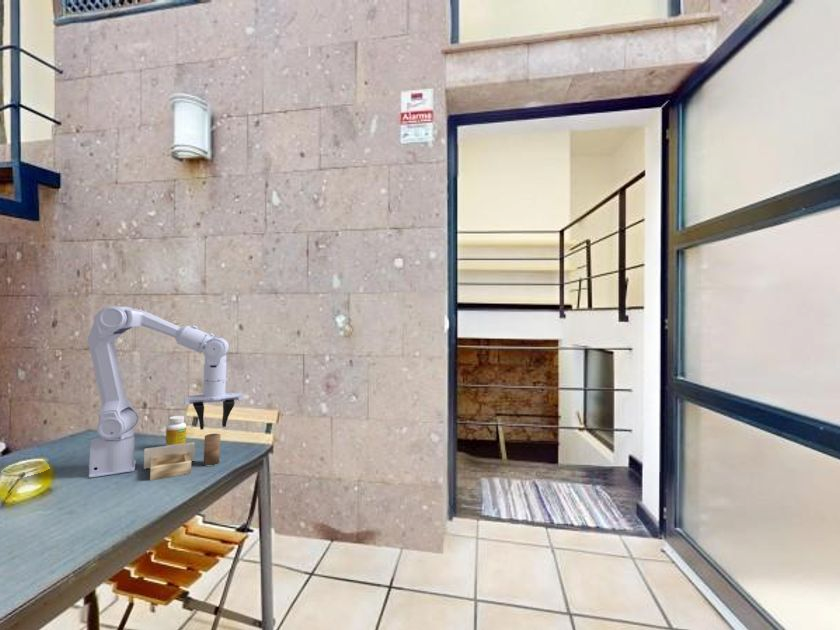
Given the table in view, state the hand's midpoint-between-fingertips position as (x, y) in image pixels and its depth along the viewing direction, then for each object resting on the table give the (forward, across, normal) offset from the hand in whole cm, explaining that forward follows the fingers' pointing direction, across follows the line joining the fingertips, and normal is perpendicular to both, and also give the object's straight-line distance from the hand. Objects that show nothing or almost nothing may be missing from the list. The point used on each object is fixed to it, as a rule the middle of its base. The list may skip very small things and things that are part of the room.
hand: (212, 427), depth 113 cm
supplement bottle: (+11, -8, +19) cm, 23 cm away
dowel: (+10, 0, 0) cm, 10 cm away
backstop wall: (+10, -10, +5) cm, 15 cm away
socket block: (+10, -10, 0) cm, 14 cm away
